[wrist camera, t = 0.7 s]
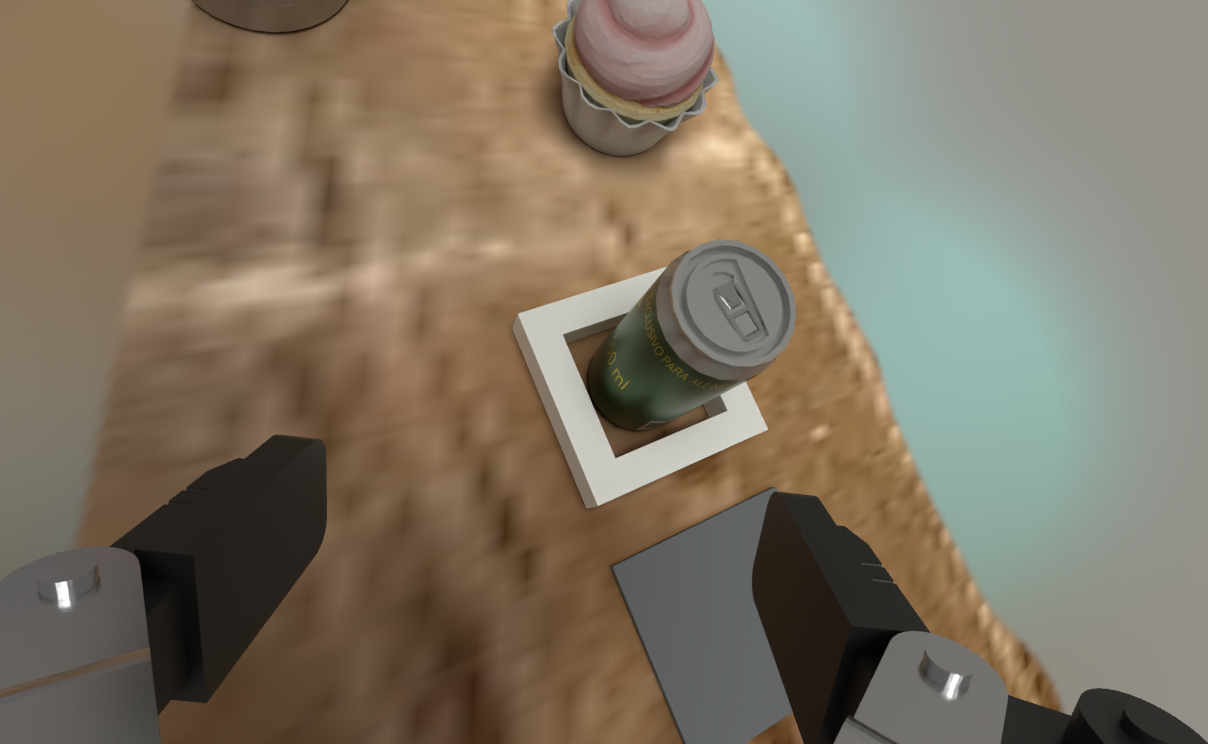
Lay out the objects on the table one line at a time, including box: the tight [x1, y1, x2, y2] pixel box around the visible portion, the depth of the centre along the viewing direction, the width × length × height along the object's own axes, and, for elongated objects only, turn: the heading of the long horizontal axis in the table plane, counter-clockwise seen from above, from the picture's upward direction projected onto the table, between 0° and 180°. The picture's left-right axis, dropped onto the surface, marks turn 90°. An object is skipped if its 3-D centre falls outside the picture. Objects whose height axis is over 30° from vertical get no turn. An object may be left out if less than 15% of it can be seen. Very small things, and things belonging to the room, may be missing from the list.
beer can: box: [588, 240, 796, 431], centre depth 28 cm, size 5×5×12 cm
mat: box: [611, 487, 793, 744], centre depth 32 cm, size 10×10×1 cm
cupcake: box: [552, 0, 719, 156], centre depth 34 cm, size 9×9×10 cm
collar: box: [512, 267, 768, 509], centre depth 33 cm, size 10×10×2 cm
